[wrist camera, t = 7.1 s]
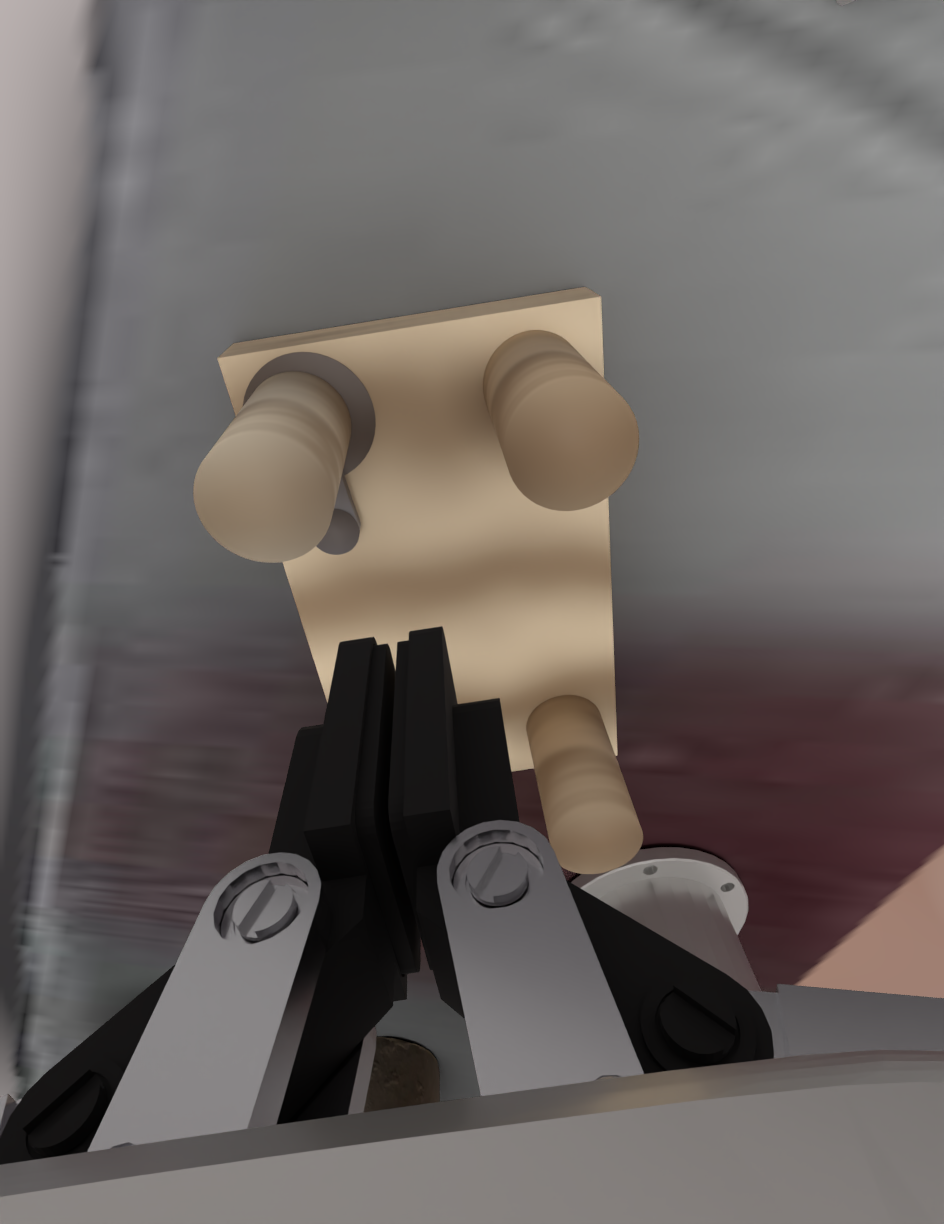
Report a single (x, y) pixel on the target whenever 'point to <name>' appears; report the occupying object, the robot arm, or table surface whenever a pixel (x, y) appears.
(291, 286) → the table surface
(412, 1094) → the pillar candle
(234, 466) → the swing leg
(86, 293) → the table surface
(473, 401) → the stool seat
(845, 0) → the hinge
